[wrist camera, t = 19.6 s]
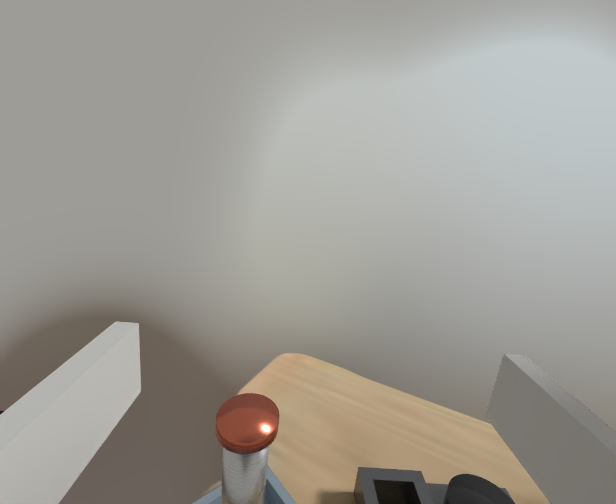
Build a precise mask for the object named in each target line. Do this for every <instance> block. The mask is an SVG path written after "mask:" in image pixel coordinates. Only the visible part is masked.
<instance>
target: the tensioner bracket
mask: <svg viewBox="0 0 616 504" xmlns="http://www.w3.org/2000/svg"><path fill="white" fill-rule="evenodd" d="M354 495H355V501H356V504H515V503H514V501H513V500H512V498H511V497H510V495H509V493H508V492H507V490H506V489H505V488H499V487H497V486H496V485H494V484H493V483H491V482H489V481H488V480H486V479H483V478H481V477H478V476H475V475H471V474H460V475H457V476H455V477H453V478H452V479H451V481H450V482H449V484H448V485H446V484H430V483H425V480H424V477H423V475H422V472H421V471H412V470H397V469H381V468H366V467H358V472H357V478H356V483H355V489H354Z"/></svg>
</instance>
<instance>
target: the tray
mask: <svg viewBox="0 0 616 504" xmlns="http://www.w3.org/2000/svg"><path fill="white" fill-rule="evenodd" d="M221 490H222V485H221V486H219V487H218V488H216V489H214V490H213V491H211V492H210V493H208V494H206V495H205V496H203V497H202V498H200V499H198V500H197V501H195V502H194V503H192V504H221ZM264 504H296V502H295V501H294V500H293V498H292V497H291V496H290V494H289V493H288V492H287V490H286V489H285V488H284V486H283V485H282V484H281V482H280V481H279V480H278V478H277V477H276V476H275V474H274V473H273V472H272V470H271V469H270V468H269V466H268V465H267V474H266V486H265V497H264Z"/></svg>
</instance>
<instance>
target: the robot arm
mask: <svg viewBox="0 0 616 504" xmlns="http://www.w3.org/2000/svg"><path fill="white" fill-rule="evenodd" d="M139 351H140V350H139V324H138V323H127V322H115V323H114V324H112V325H111V326H110V327H109V328H107V329H106V330H105V331H104V332H102V333H101V334H100V335H99V336H97V337H96V338H95V339H94V340H92V341H91V342H90V343H89V344H88V345H86V346H85V347H84V348H83V349H81V350H80V351H79V352H78V353H76V354H75V355H74V356H73V357H71V358H70V359H69V360H68V361H66V362H65V363H64V364H63V365H61V366H60V367H59V368H58V369H57V370H55V371H54V372H53V373H52V374H50V375H49V376H48V377H47V378H45V379H44V380H43V381H42V382H40V383H39V384H38V385H37V386H36V387H34V388H33V389H32V390H30V391H29V392H28V393H27V394H25V395H24V396H23V397H22V398H20V399H19V400H18V401H17V402H16V403H14V404H13V405H12V406H11V407H9V408H8V409H7V410H6V411H0V504H58V503H59V502H60V501H61V499H62V498H63V497H64V495H65V494H66V493H67V491H68V490H69V488H70V487H71V486H72V484H73V483H74V481H75V480H76V479H77V478H78V476H79V475H80V474H81V472H82V471H83V469H84V468H85V467H86V465H87V464H88V463H89V461H90V460H91V458H92V457H93V456H94V454H95V453H96V452H97V450H98V449H99V448H100V446H101V445H102V444H103V442H104V441H105V439H106V438H107V436H108V435H109V434H110V433H111V431H112V430H113V429H114V427H115V426H116V424H117V423H118V421H119V420H120V419H121V418H122V416H123V415H124V414H125V412H126V411H127V409H128V408H129V407H130V405H131V404H132V403H133V401H134V400H135V398H136V397H137V396H138V394H139V393H140V392H141V376H140V352H139ZM486 418H487V419H488V420H489V422H490V423H491V424H492V426H493V427H494V428H495V430H496V431H497V432H498V434H499V435H500V436H501V438H502V439H503V440H504V442H505V443H506V444H507V446H508V447H509V448H510V450H511V451H512V452H513V454H514V455H515V456H516V458H517V459H518V460H519V462H520V463H521V464H522V466H523V467H524V468H525V470H526V471H527V472H528V474H529V475H530V476H531V478H532V479H533V480H534V482H535V483H536V484H537V486H538V487H539V488H540V490H541V491H542V492H543V494H544V495H545V496H546V498H547V499H548V500H549V502H550V503H551V504H616V431H615V430H614V429H613V428H611V427H610V426H609V425H608V424H606V423H605V422H604V421H603V420H602V419H601V418H599V417H598V416H597V415H596V414H594V413H593V412H592V411H591V410H590V409H588V408H587V407H586V406H585V405H584V404H582V403H581V402H580V401H579V400H578V399H576V398H575V397H574V396H573V395H571V394H570V393H569V392H568V391H567V390H565V389H564V388H563V387H562V386H561V385H559V384H558V383H557V382H556V381H555V380H553V379H552V378H551V377H550V376H549V375H547V374H546V373H545V372H544V371H542V370H541V369H540V368H539V367H538V366H536V365H535V364H534V363H533V362H532V361H530V360H529V359H528V358H527V357H526V356H524V355H515V354H504V355H503V358H502V362H501V365H500V369H499V372H498V376H497V379H496V382H495V386H494V389H493V392H492V396H491V399H490V403H489V406H488V410H487V413H486Z"/></svg>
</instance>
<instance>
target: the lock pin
mask: <svg viewBox="0 0 616 504" xmlns="http://www.w3.org/2000/svg"><path fill="white" fill-rule="evenodd" d="M278 424H279V410H278V408H277V406H276V404H275V403H274V402H273V401H272V400H270V399H269V398H267V397H265V396H263V395H260V394H253V393H247V394H240V395H237V396H234V397H232V398H230V399H229V400H227V401H226V402H225V403H224V404H223V405H222V406H221V407H220V408H219V410H218V413H217V416H216V437H217V440H218V441H219V443H220V444H221V446H222V447H223V467H222V490H221V504H264V497H265V486H266V474H267V463H268V451H269V445H270V444H271V443H272V442H273V441H274V439H275V438H276V435H277V432H278Z"/></svg>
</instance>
